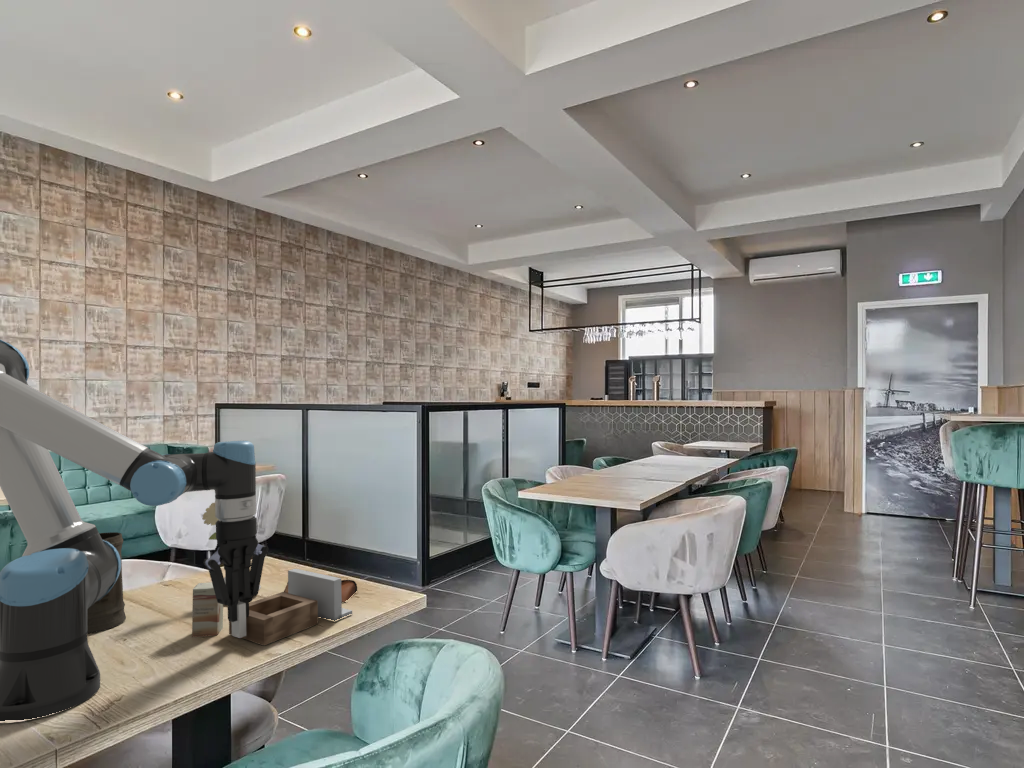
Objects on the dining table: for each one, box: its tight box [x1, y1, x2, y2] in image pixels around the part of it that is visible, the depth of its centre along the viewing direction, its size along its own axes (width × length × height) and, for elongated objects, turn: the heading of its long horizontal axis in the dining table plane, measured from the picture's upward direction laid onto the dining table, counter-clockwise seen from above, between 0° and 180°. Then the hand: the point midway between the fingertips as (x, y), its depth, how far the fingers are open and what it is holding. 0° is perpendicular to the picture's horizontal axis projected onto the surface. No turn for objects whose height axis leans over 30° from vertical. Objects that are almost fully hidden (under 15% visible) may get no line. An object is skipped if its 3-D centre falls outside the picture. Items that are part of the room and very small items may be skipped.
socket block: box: [228, 591, 319, 646], centre depth 126 cm, size 13×12×5 cm
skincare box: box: [191, 581, 224, 638], centre depth 125 cm, size 5×4×10 cm
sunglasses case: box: [283, 579, 358, 602], centre depth 147 cm, size 18×7×7 cm
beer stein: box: [87, 531, 127, 634], centre depth 133 cm, size 15×11×20 cm
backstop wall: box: [287, 568, 353, 621], centre depth 136 cm, size 5×16×9 cm, turn 57°
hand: (239, 635), depth 119 cm, fingers closed
